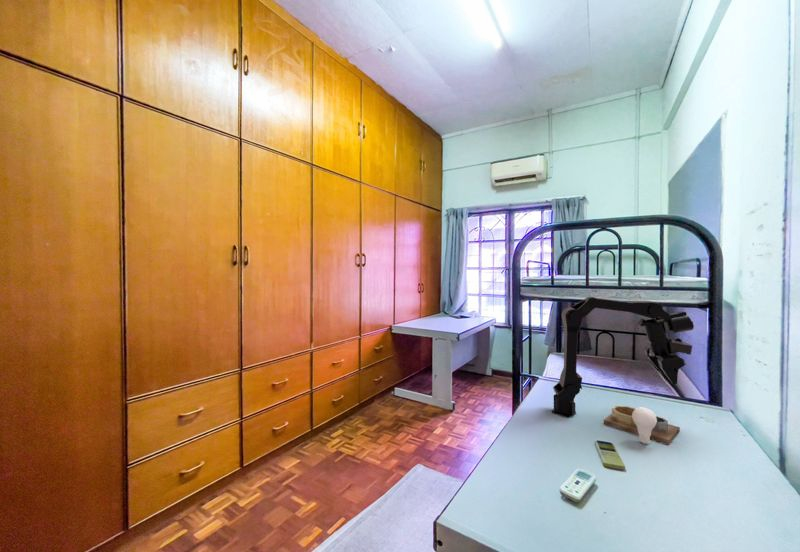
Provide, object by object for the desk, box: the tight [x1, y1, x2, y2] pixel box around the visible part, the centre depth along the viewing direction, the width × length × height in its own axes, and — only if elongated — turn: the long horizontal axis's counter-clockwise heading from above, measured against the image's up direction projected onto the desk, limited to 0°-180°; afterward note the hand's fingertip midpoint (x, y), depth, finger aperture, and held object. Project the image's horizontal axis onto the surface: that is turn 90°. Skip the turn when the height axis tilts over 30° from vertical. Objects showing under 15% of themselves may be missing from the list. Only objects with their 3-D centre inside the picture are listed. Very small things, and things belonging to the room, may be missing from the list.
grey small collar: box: [652, 415, 669, 432], centre depth 106 cm, size 5×5×3 cm
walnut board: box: [603, 413, 681, 446], centre depth 110 cm, size 18×13×2 cm
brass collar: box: [611, 405, 636, 426], centre depth 112 cm, size 9×9×3 cm
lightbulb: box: [632, 406, 657, 445], centre depth 100 cm, size 6×6×11 cm
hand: (669, 379), depth 113 cm, fingers open, 9 cm apart
